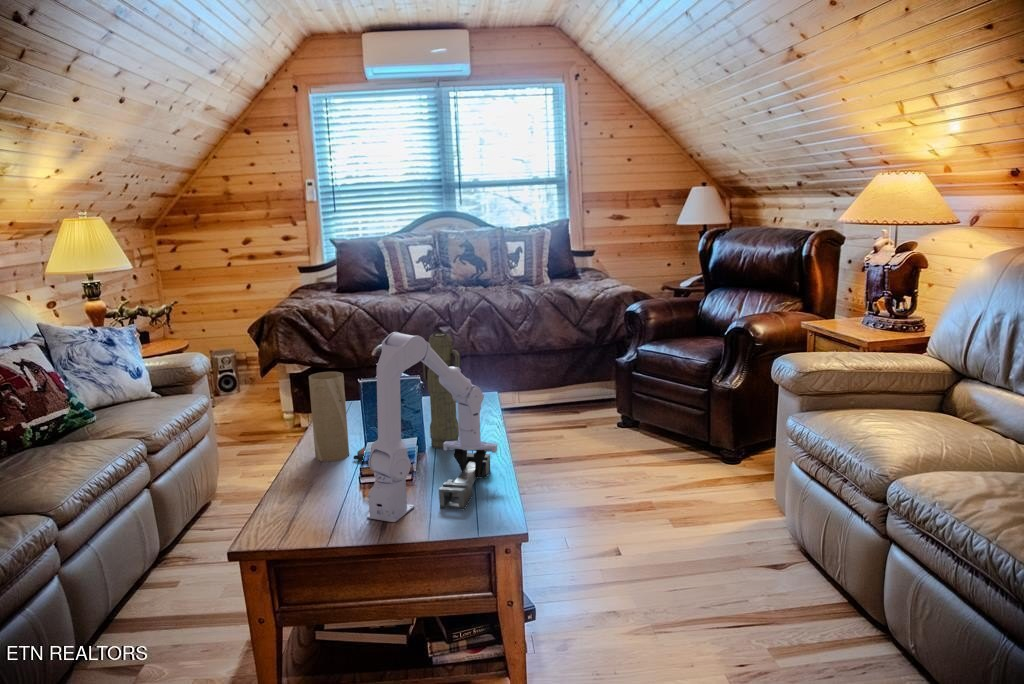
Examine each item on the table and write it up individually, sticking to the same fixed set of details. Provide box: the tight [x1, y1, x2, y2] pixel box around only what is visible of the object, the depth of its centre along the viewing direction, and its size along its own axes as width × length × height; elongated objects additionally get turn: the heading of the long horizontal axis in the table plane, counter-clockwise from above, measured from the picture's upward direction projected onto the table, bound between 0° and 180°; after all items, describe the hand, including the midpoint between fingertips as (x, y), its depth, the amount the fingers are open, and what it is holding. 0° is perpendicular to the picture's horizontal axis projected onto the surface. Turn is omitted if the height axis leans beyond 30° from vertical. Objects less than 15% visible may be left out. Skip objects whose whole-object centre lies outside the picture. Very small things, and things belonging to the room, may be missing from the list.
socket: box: [467, 452, 491, 477], centre depth 197 cm, size 5×7×5 cm
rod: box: [452, 460, 482, 497], centre depth 189 cm, size 18×3×3 cm, turn 168°
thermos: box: [422, 332, 461, 450], centre depth 220 cm, size 9×12×35 cm
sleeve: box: [438, 478, 474, 510], centre depth 179 cm, size 8×6×5 cm
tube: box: [308, 371, 350, 463], centre depth 214 cm, size 10×10×25 cm
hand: (471, 476), depth 193 cm, fingers closed on rod, 3 cm apart
